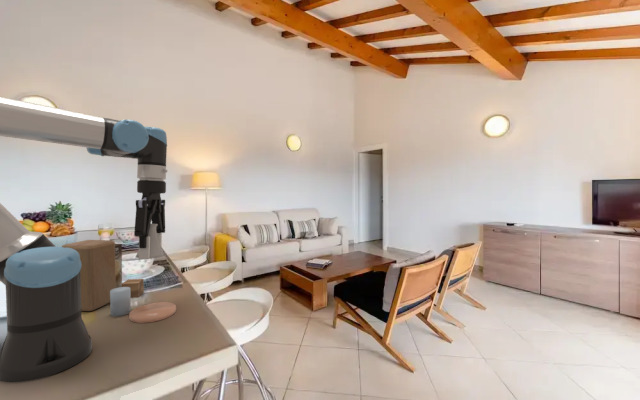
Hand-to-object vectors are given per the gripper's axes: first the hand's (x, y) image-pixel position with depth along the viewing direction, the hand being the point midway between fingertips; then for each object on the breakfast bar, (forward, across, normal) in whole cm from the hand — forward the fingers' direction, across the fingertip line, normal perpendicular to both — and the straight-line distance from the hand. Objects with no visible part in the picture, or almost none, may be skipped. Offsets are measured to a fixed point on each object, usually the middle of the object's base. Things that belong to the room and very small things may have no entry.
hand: (150, 256), depth 91 cm
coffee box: (+17, +21, +25) cm, 36 cm away
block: (+17, +6, +20) cm, 27 cm away
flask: (0, 0, 0) cm, 0 cm away
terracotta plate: (+16, -2, -2) cm, 17 cm away
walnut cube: (+17, +14, +12) cm, 25 cm away
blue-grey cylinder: (+17, -1, +8) cm, 18 cm away
